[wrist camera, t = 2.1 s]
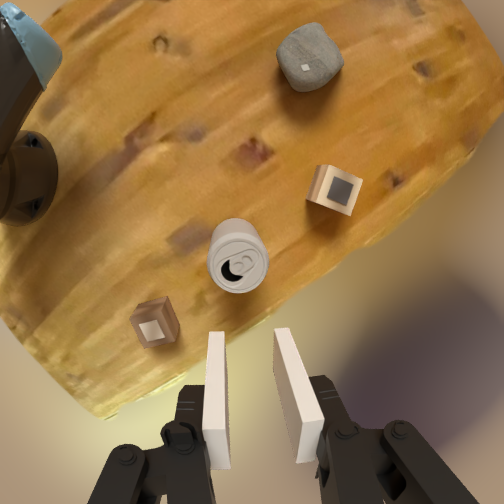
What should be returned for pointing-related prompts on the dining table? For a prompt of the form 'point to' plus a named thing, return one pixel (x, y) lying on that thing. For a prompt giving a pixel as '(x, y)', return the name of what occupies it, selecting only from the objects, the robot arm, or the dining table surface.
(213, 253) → the beverage can
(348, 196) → the beech block
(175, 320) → the walnut block
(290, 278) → the dining table surface
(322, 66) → the stone
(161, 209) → the dining table surface
